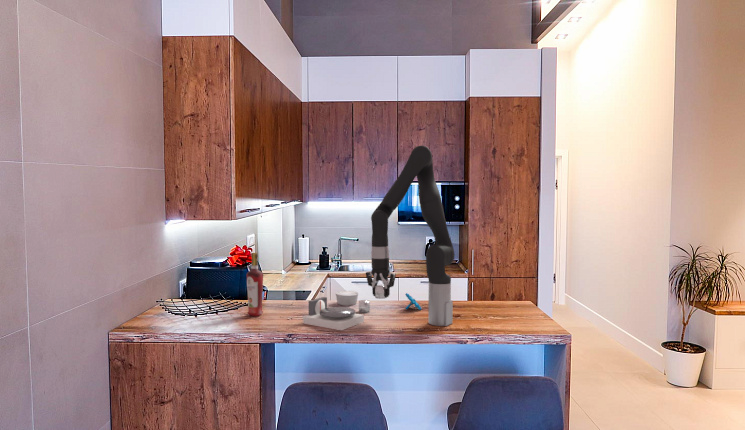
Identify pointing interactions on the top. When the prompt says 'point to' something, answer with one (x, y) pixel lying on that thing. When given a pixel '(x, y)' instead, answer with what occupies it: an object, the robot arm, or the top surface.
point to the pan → (337, 312)
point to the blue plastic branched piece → (412, 302)
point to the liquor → (254, 288)
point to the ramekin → (346, 297)
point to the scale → (328, 322)
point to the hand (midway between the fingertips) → (381, 296)
